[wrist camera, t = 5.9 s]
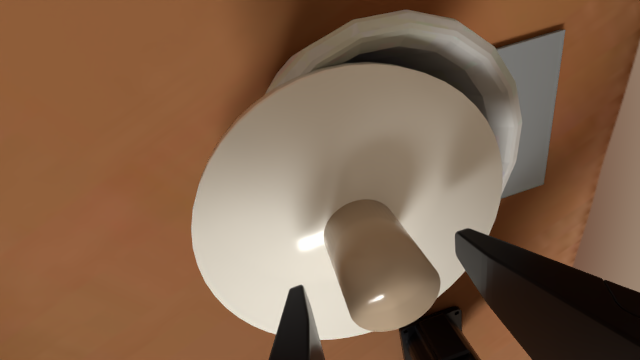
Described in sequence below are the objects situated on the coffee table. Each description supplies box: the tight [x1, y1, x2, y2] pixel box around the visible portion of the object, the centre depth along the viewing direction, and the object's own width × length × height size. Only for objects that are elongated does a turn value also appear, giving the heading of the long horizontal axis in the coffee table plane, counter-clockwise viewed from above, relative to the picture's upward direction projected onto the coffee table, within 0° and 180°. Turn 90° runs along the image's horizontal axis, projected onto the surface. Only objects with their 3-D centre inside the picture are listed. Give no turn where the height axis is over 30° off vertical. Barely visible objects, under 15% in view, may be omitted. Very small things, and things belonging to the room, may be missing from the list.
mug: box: [265, 10, 522, 195], centre depth 16 cm, size 10×15×10 cm
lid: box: [191, 62, 503, 340], centre depth 10 cm, size 11×11×4 cm
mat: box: [496, 30, 565, 199], centre depth 23 cm, size 12×12×1 cm
